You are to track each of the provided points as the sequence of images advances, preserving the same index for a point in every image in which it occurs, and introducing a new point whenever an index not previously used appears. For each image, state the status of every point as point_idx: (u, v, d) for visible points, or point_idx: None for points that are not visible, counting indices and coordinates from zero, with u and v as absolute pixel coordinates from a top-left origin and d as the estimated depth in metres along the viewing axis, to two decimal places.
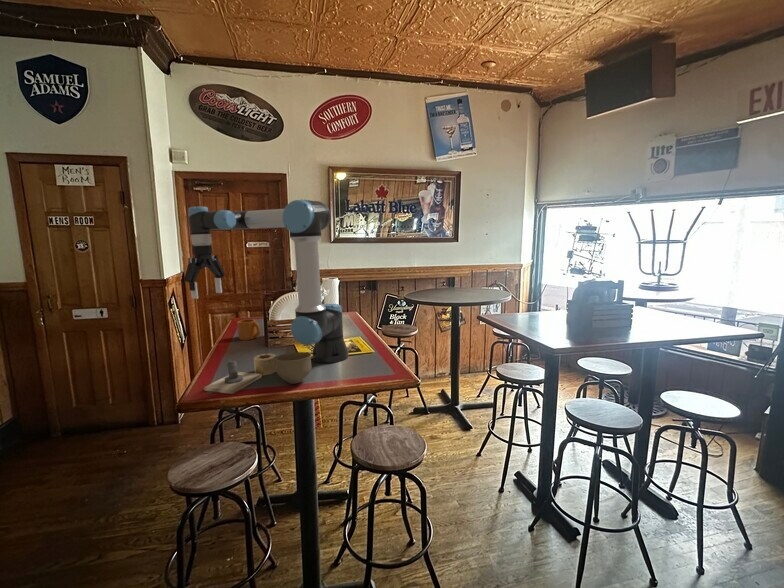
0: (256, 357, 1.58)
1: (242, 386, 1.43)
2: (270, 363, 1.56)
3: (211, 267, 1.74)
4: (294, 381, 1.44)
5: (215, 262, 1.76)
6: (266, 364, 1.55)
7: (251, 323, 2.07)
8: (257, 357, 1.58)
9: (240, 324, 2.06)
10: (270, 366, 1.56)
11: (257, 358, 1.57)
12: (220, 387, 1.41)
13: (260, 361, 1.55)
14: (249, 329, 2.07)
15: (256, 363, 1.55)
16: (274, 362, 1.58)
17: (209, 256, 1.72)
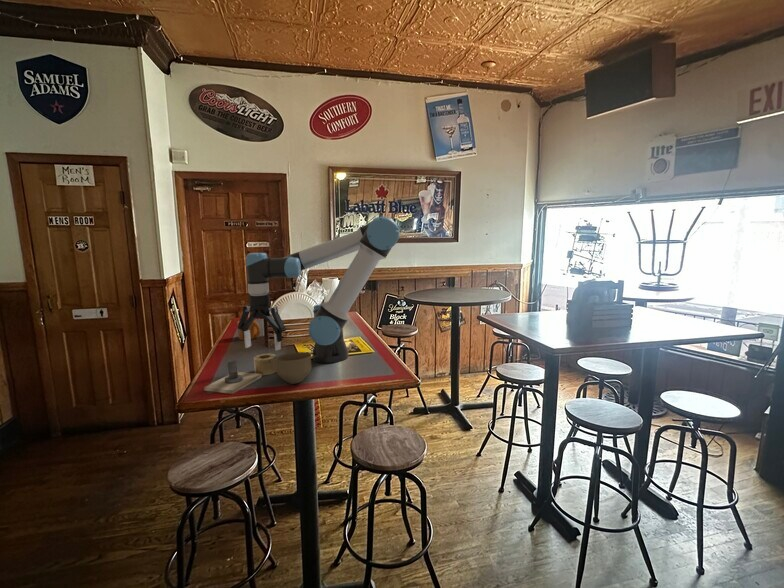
0: (256, 357, 1.58)
1: (242, 386, 1.43)
2: (270, 363, 1.56)
3: None
4: (294, 381, 1.44)
5: None
6: (266, 364, 1.55)
7: None
8: (257, 357, 1.58)
9: None
10: (270, 366, 1.56)
11: (257, 358, 1.57)
12: (220, 387, 1.41)
13: (260, 361, 1.55)
14: (249, 329, 2.07)
15: (256, 363, 1.55)
16: (274, 362, 1.58)
17: (263, 307, 1.53)
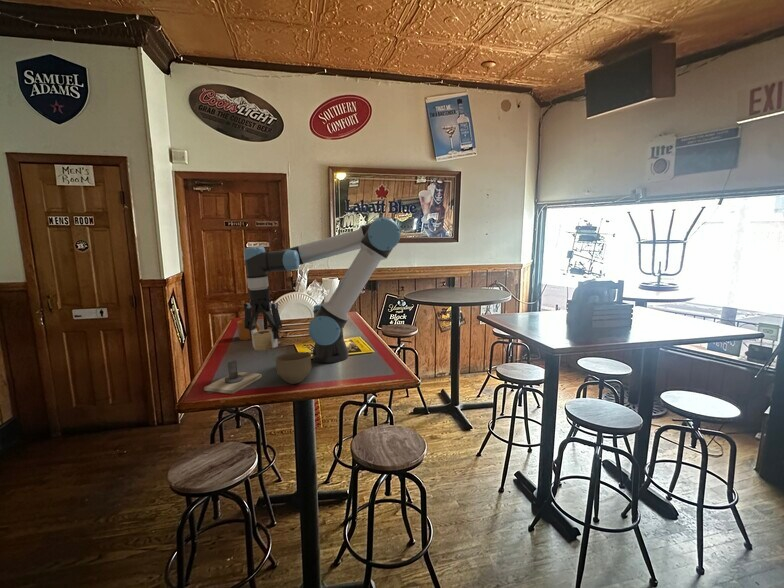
0: (255, 333, 1.56)
1: (242, 386, 1.43)
2: (269, 338, 1.54)
3: None
4: (294, 381, 1.44)
5: None
6: (265, 339, 1.54)
7: None
8: (256, 333, 1.56)
9: (240, 324, 2.06)
10: (269, 341, 1.54)
11: (256, 333, 1.55)
12: (220, 387, 1.41)
13: (259, 336, 1.53)
14: None
15: (255, 338, 1.54)
16: None
17: (264, 301, 1.53)
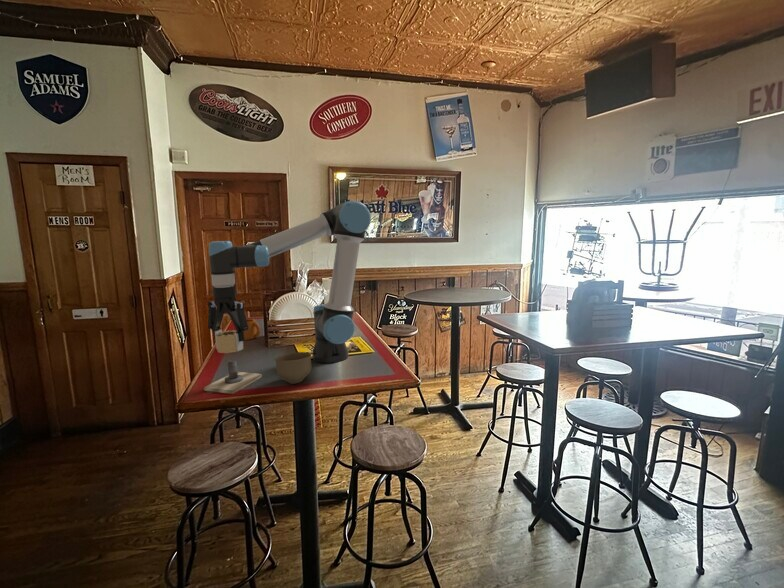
0: (219, 333, 1.44)
1: (242, 386, 1.43)
2: (233, 340, 1.42)
3: None
4: (294, 381, 1.44)
5: None
6: (229, 341, 1.42)
7: (251, 323, 2.07)
8: (220, 333, 1.44)
9: None
10: (233, 343, 1.42)
11: (220, 334, 1.43)
12: (220, 387, 1.41)
13: (222, 337, 1.41)
14: (249, 329, 2.07)
15: (218, 339, 1.42)
16: None
17: (229, 300, 1.41)
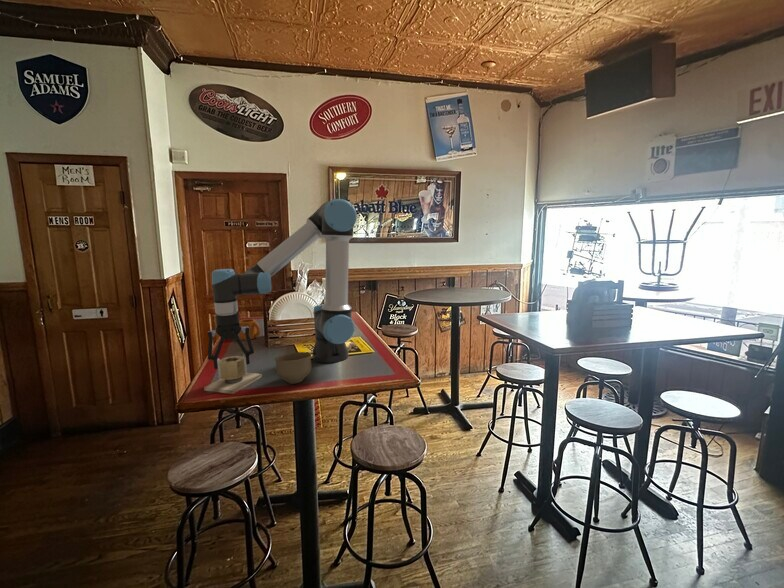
0: (223, 361, 1.44)
1: (242, 386, 1.43)
2: (243, 364, 1.46)
3: (236, 340, 1.46)
4: (294, 381, 1.44)
5: None
6: (240, 365, 1.45)
7: (251, 323, 2.07)
8: (224, 361, 1.45)
9: (240, 324, 2.06)
10: (243, 367, 1.47)
11: (227, 362, 1.44)
12: (220, 387, 1.41)
13: (234, 363, 1.43)
14: (249, 329, 2.07)
15: (229, 367, 1.43)
16: None
17: (236, 326, 1.45)
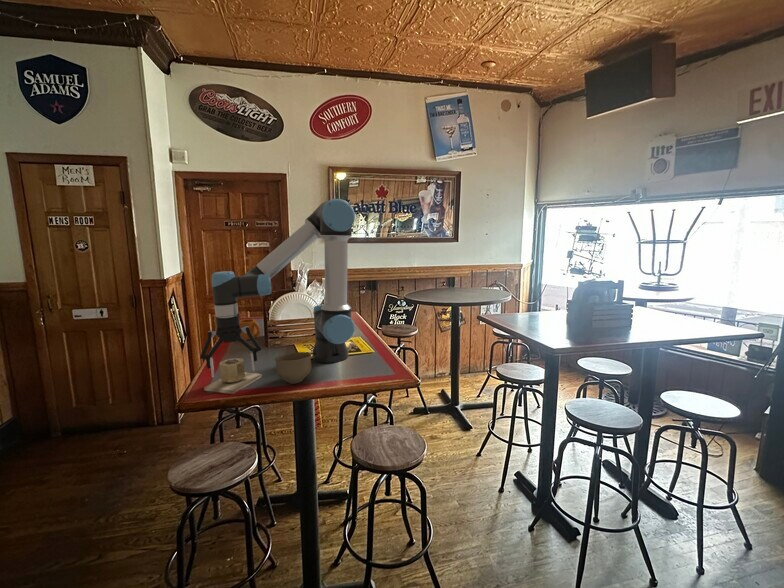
0: (223, 364, 1.44)
1: (242, 386, 1.43)
2: (243, 366, 1.47)
3: None
4: (294, 381, 1.44)
5: None
6: (240, 368, 1.45)
7: (251, 323, 2.07)
8: (224, 364, 1.45)
9: (240, 324, 2.06)
10: (243, 369, 1.47)
11: (226, 364, 1.44)
12: (220, 387, 1.41)
13: (234, 366, 1.43)
14: None
15: (229, 369, 1.43)
16: None
17: (235, 329, 1.45)
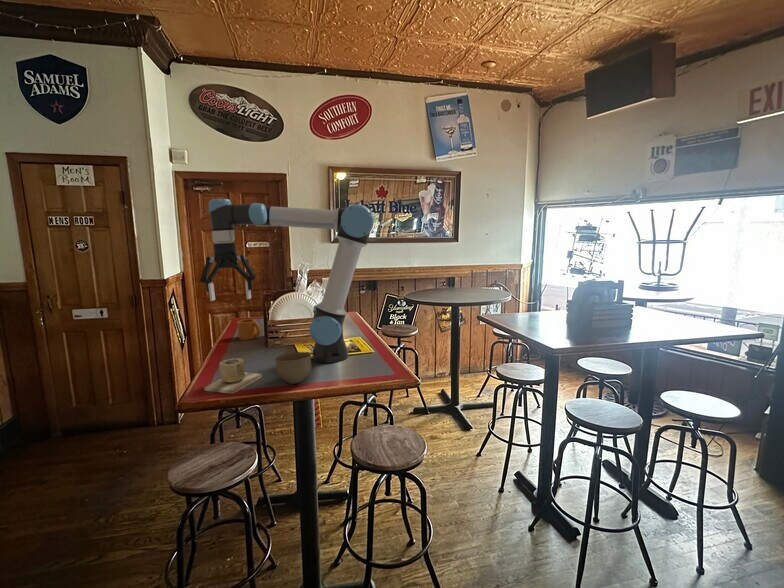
0: (223, 364, 1.44)
1: (242, 386, 1.43)
2: (243, 366, 1.47)
3: None
4: (294, 381, 1.44)
5: None
6: (240, 368, 1.45)
7: (251, 323, 2.07)
8: (224, 364, 1.45)
9: (240, 324, 2.06)
10: (243, 369, 1.47)
11: (226, 364, 1.44)
12: (220, 387, 1.41)
13: (234, 366, 1.43)
14: (249, 329, 2.07)
15: (229, 369, 1.43)
16: None
17: (230, 256, 1.49)
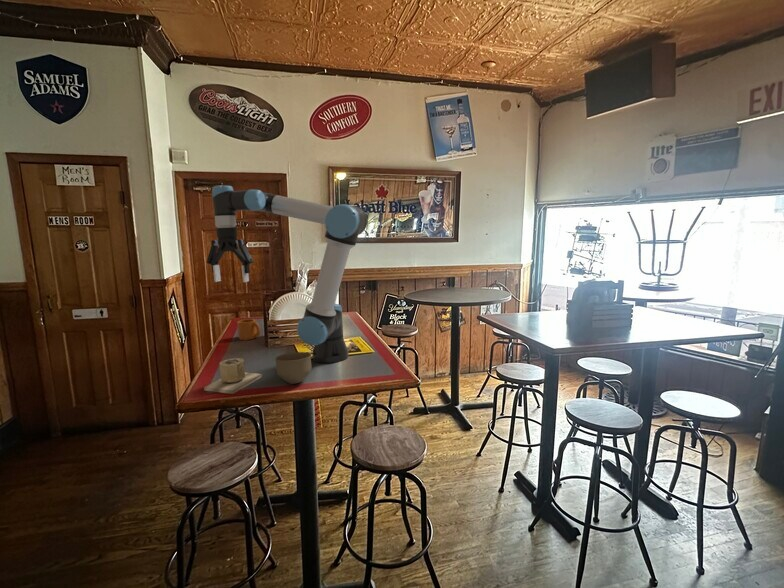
0: (223, 364, 1.44)
1: (242, 386, 1.43)
2: (243, 366, 1.47)
3: None
4: (294, 381, 1.44)
5: None
6: (240, 368, 1.45)
7: (251, 323, 2.07)
8: (224, 364, 1.45)
9: (240, 324, 2.06)
10: (243, 369, 1.47)
11: (226, 364, 1.44)
12: (220, 387, 1.41)
13: (234, 366, 1.43)
14: (249, 329, 2.07)
15: (229, 369, 1.43)
16: None
17: (230, 240, 1.57)
